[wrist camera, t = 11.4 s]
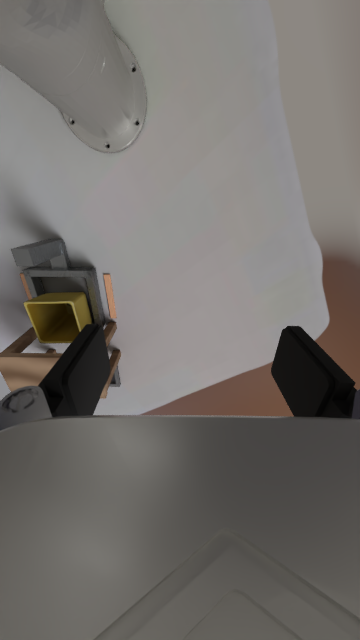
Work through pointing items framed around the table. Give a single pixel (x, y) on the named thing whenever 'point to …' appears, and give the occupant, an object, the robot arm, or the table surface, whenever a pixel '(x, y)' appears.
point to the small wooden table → (41, 361)
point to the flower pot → (58, 316)
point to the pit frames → (115, 379)
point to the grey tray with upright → (56, 271)
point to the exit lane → (108, 290)
